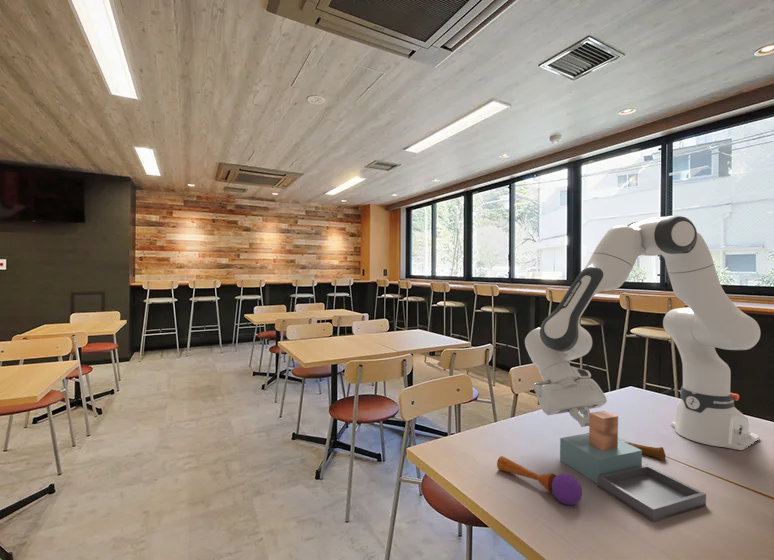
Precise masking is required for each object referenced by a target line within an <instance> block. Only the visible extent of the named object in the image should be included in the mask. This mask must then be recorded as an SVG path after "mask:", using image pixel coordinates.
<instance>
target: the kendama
mask: <svg viewBox="0 0 774 560" xmlns="http://www.w3.org/2000/svg"><path fill="white" fill-rule="evenodd" d="M496 467H497V469H498V470H499V471H502V472H506V473H510V474H514V475H518V476H521V477H525V478H528V479H532V480H536V481H538V482H539V483H540V485H541V486H543V487H544V489H545V490H546V491H548V492H549V494H553V496H554V497H555V498H556V499H557V500H558V501H559V502H560V503H562V504H564V505H566V506H569V505H570V506H571V505H572V506H573V505H576V504H577V503H579V502H580V501H581V498H582V496H583V488H582V486H581V484H580V482H579V481H578V480H577V478H575V477H574V476H573V475H571V474H568V473H559V474H557V475H556V473H545V474H538V473H535V472H534V471H532V470H529V469H527V468H526V467H524V466H522V465H519V463H516V462H514V461H513V460H511V459H509V458H507V457H505V456H504V455H501V456H499V457H498V459H497V463H496Z"/></svg>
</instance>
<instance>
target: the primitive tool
mask: <svg viewBox="0 0 774 560" xmlns="http://www.w3.org/2000/svg"><path fill="white" fill-rule="evenodd" d="M624 442H625V443H627V444H629V445H632V446H634V447H636V448H638V449H640V450H642V456H648V457H652V458H655V459H657V460H659V461H661V462H663V461H665V459H666V452H665V449H664V448H663V446H660V447H654V446H653V447H652V446H646V445H643V444H638V443H632V442H627V441H624Z"/></svg>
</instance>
